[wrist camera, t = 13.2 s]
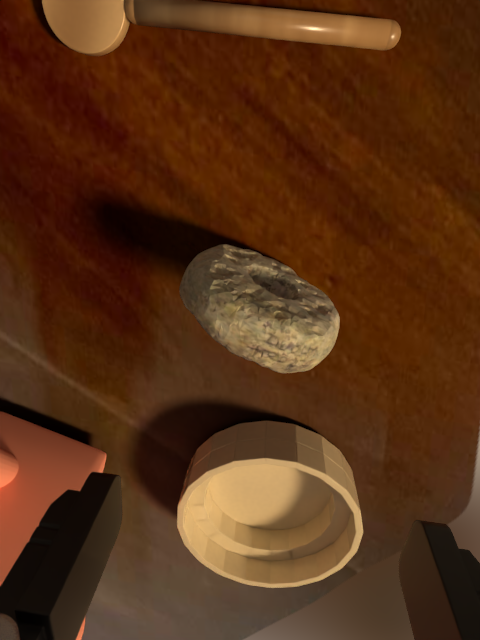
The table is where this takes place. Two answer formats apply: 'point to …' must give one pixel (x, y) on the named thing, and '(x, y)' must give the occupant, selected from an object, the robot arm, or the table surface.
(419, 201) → the table surface
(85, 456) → the teapot
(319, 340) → the stone ring
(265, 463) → the bowl
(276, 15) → the spoon
